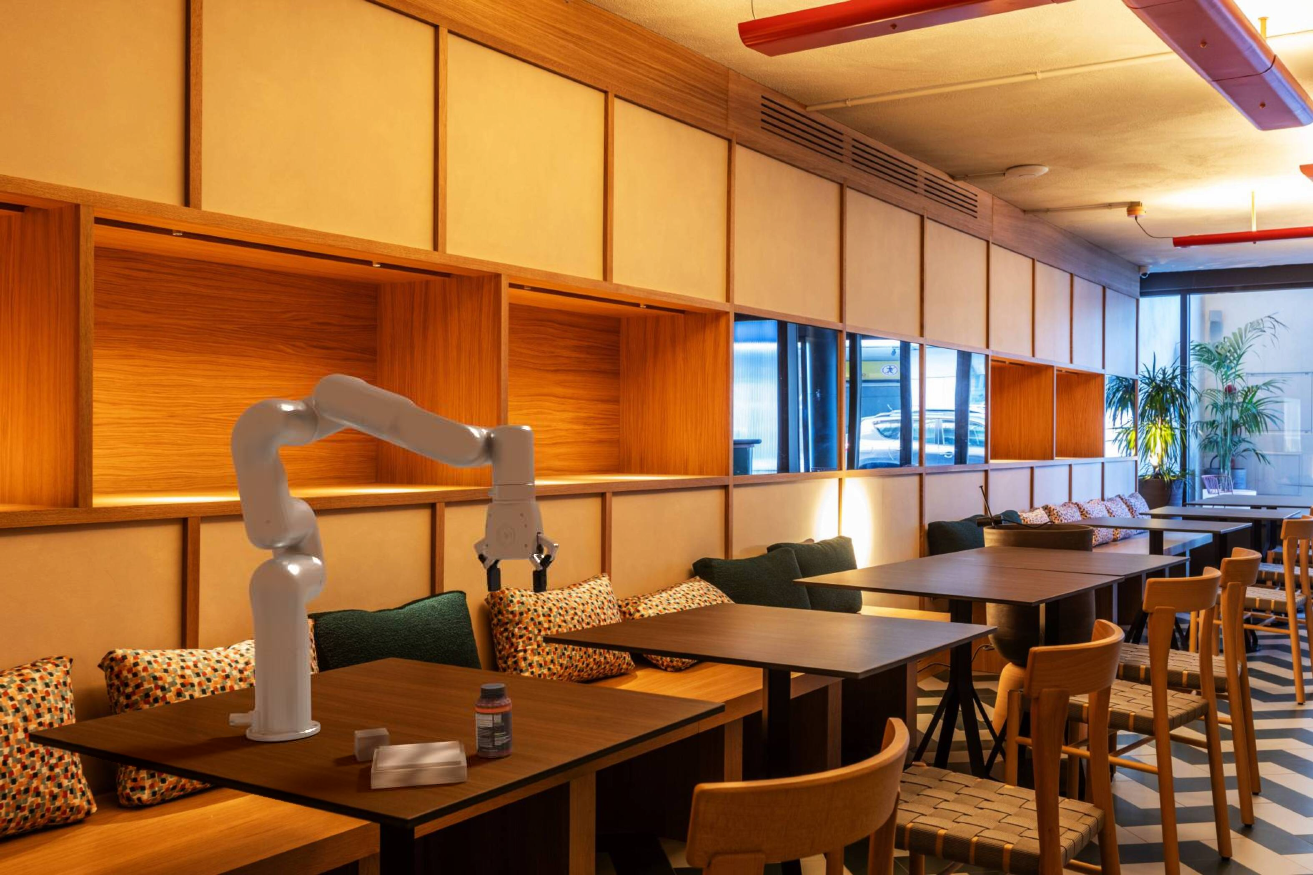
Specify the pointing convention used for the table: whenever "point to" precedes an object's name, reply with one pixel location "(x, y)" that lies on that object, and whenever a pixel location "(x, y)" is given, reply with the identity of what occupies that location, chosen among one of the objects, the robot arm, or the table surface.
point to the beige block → (369, 742)
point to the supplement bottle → (493, 722)
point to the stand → (418, 764)
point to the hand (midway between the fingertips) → (516, 591)
